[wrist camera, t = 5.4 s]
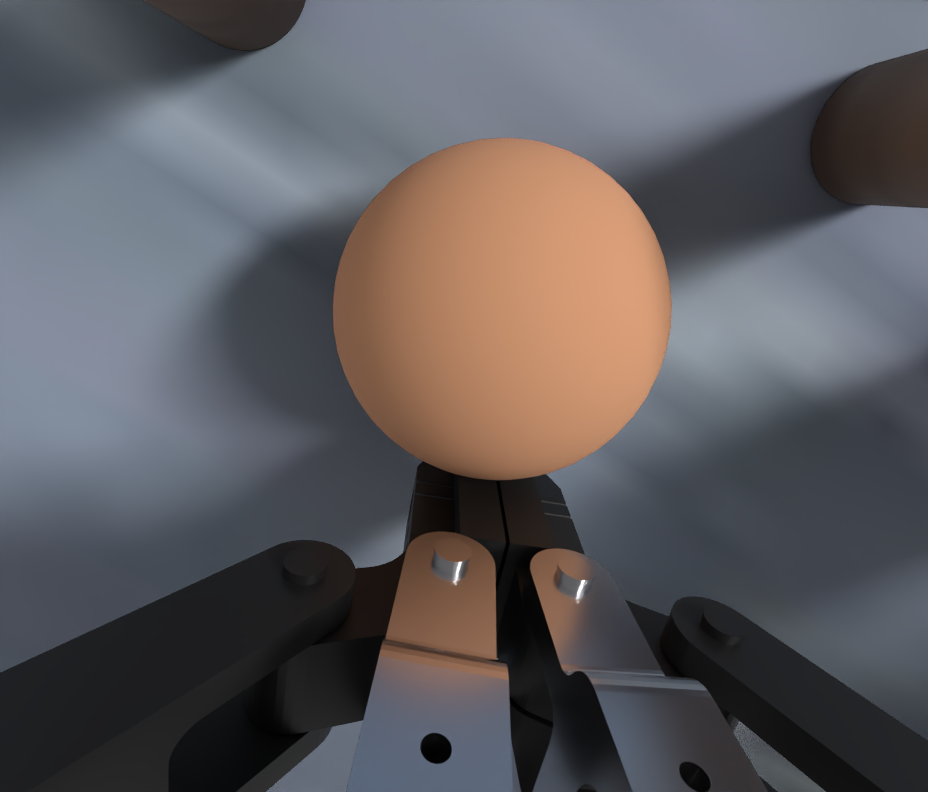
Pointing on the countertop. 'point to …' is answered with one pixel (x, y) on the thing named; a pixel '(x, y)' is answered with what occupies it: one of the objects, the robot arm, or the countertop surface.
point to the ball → (502, 309)
